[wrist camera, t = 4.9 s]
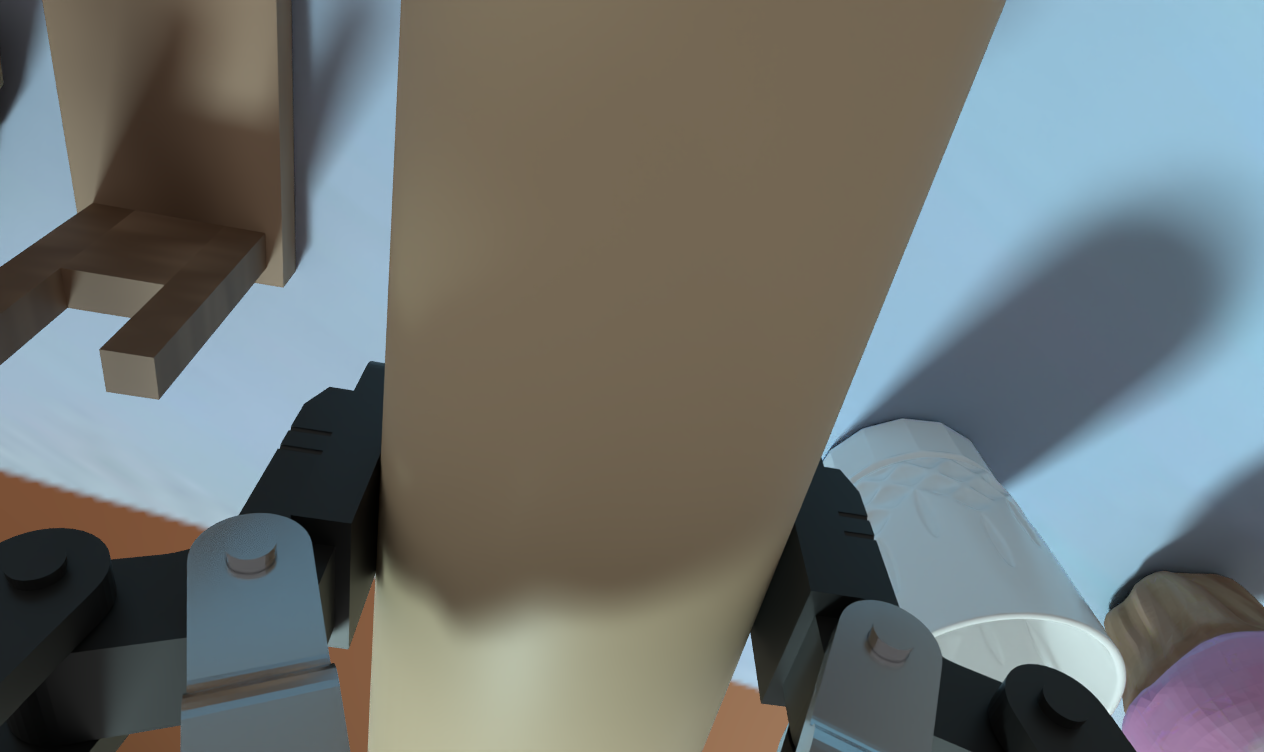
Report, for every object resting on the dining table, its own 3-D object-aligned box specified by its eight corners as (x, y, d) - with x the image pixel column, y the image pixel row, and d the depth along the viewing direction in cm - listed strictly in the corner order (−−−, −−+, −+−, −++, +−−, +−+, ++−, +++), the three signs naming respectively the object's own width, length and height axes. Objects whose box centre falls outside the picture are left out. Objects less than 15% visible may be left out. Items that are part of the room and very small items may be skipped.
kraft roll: (985, -252, 9) (1319, -357, 5) (639, 759, 20) (634, 1046, 15) (492, -377, 9) (306, -636, 4) (403, 726, 19) (321, 1010, 15)
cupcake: (1173, 679, 40) (1322, 903, 31) (1018, 642, 38) (1130, 869, 30) (1310, 551, 35) (1527, 773, 27) (1140, 503, 34) (1314, 724, 25)
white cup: (796, 412, 31) (862, 625, 23) (1010, 395, 31) (1158, 604, 22) (792, 562, 35) (847, 789, 27) (980, 549, 35) (1094, 773, 27)
